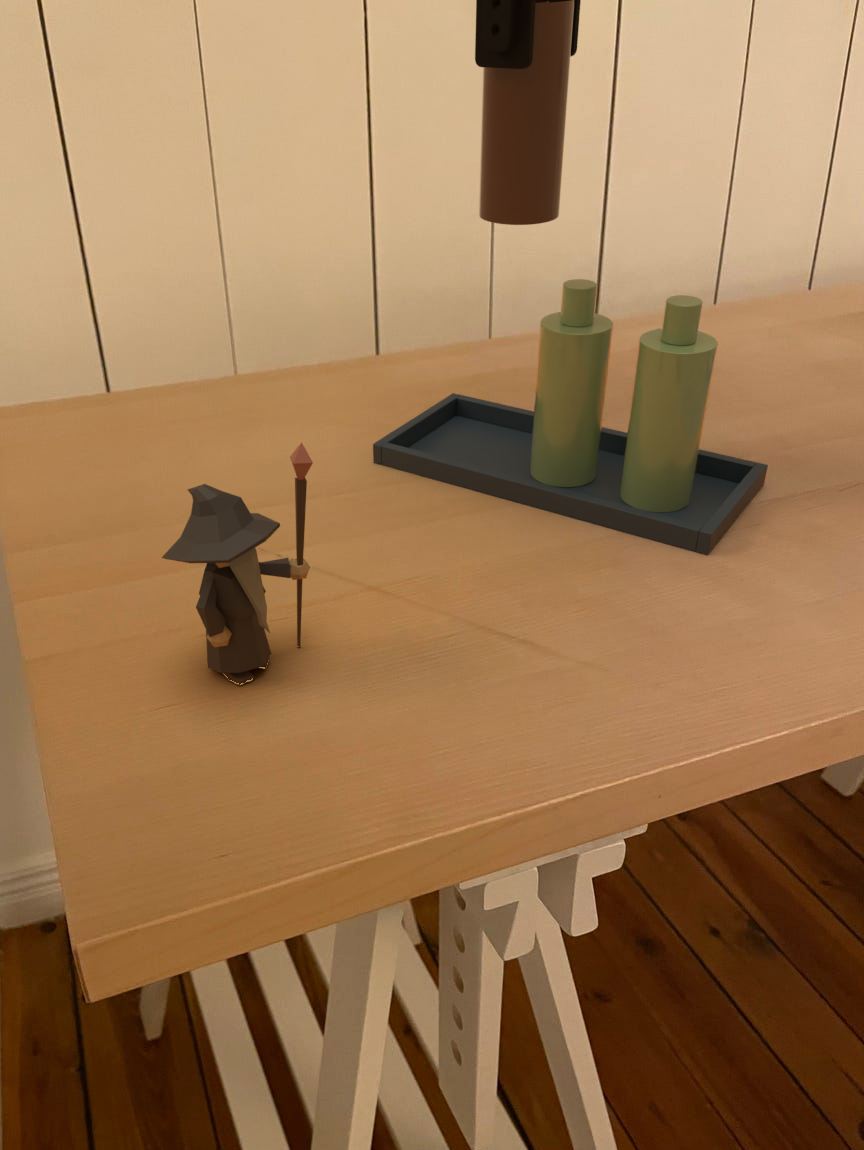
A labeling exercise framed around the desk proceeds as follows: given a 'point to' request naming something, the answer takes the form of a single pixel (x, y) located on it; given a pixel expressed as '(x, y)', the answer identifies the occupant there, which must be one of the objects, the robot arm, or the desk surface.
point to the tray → (502, 469)
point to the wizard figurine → (239, 572)
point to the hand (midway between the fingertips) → (527, 57)
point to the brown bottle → (527, 125)
